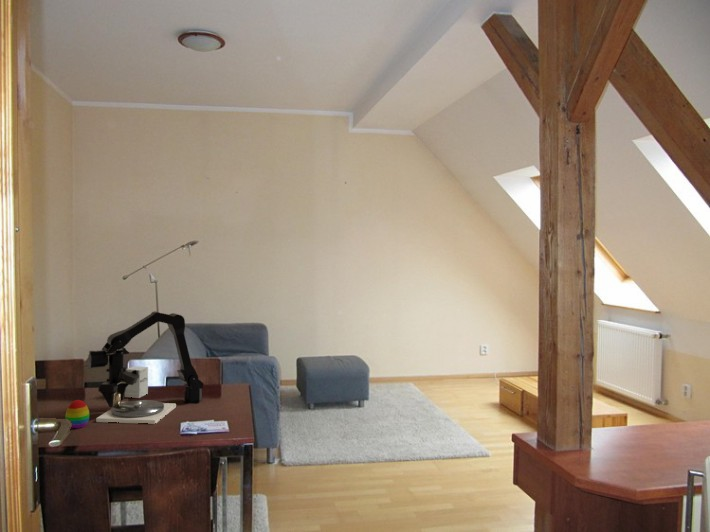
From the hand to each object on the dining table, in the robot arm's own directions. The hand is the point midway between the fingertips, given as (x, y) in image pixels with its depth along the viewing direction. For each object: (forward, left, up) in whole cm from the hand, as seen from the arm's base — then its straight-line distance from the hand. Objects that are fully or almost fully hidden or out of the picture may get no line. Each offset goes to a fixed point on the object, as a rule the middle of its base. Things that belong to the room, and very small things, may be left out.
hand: (116, 403), depth 236 cm
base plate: (-9, 0, -4) cm, 10 cm away
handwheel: (-9, 0, -2) cm, 9 cm away
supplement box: (+3, -27, -4) cm, 28 cm away
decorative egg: (+7, +17, -4) cm, 19 cm away
